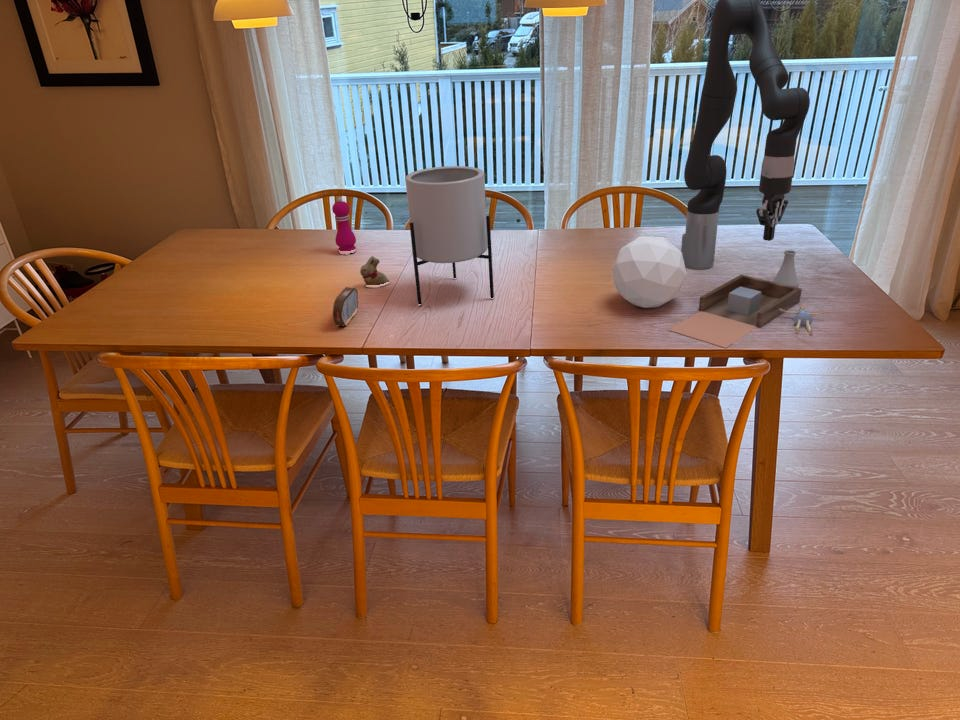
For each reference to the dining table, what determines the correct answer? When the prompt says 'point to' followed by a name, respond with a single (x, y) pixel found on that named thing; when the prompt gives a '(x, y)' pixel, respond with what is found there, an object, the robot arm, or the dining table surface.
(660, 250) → the geometric orb
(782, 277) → the flask
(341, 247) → the pepper mill
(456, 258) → the plant pot with stand
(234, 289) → the dining table surface
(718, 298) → the walnut cubby
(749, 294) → the slate block
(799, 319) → the fairy figurine
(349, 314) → the tin
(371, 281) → the chocolate bunny
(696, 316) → the terracotta mat
